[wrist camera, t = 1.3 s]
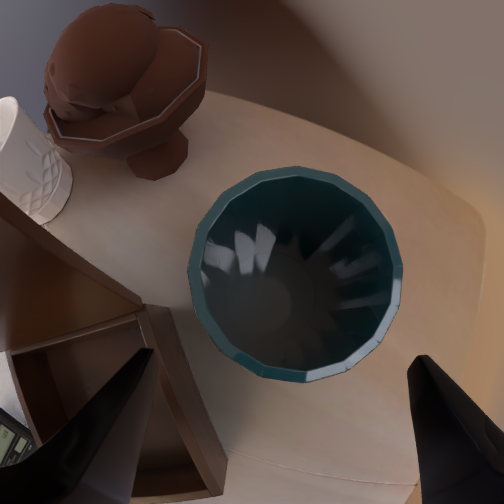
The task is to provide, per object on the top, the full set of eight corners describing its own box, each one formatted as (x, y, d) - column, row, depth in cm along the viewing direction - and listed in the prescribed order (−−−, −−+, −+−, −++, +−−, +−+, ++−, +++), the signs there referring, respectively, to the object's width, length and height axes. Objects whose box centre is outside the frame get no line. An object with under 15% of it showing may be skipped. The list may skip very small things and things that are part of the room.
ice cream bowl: (246, 131, 23) (246, -32, 9) (163, 237, 21) (48, 110, 7) (156, 90, 25) (114, -36, 10) (79, 177, 22) (-22, 71, 8)
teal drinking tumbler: (336, 308, 20) (434, 292, 9) (258, 364, 19) (273, 423, 8) (282, 231, 21) (319, 136, 10) (203, 284, 21) (149, 239, 9)
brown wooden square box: (228, 459, 18) (223, 495, 13) (95, 476, 17) (67, 501, 11) (169, 307, 20) (144, 303, 15) (43, 345, 19) (3, 347, 14)
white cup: (9, 225, 21) (-59, 189, 12) (36, 154, 23) (-18, 102, 13) (61, 238, 21) (-18, 196, 11) (90, 156, 23) (35, 89, 13)
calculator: (66, 524, 14) (54, 536, 11) (-7, 446, 16) (-23, 452, 13) (100, 495, 16) (86, 510, 13) (14, 403, 18) (-5, 408, 15)
